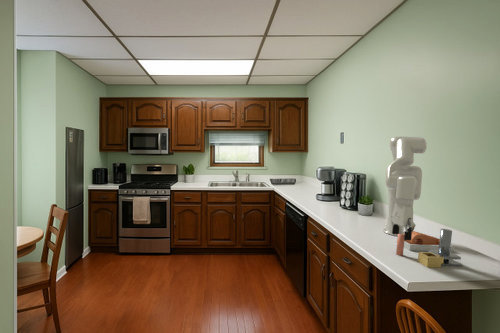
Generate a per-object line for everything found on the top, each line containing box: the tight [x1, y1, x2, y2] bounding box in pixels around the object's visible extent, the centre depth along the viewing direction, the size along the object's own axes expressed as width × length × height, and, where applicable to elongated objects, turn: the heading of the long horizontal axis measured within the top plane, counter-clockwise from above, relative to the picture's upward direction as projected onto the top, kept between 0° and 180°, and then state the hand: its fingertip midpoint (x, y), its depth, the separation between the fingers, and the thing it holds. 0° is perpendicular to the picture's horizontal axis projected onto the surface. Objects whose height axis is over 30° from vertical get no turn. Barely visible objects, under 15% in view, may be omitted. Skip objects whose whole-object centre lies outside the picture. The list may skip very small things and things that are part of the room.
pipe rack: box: [396, 237, 454, 253], centre depth 151 cm, size 12×24×3 cm, turn 94°
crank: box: [403, 230, 440, 245], centre depth 152 cm, size 20×8×8 cm, turn 94°
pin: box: [395, 234, 405, 257], centre depth 137 cm, size 3×3×10 cm
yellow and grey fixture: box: [417, 228, 463, 268], centre depth 130 cm, size 12×18×15 cm
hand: (401, 236), depth 136 cm, fingers open, 9 cm apart
